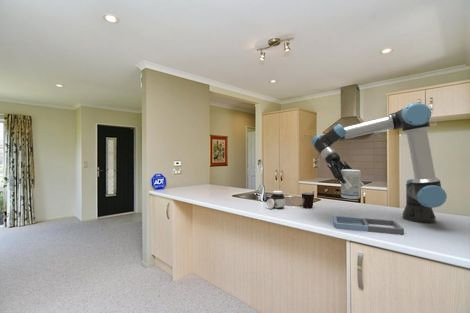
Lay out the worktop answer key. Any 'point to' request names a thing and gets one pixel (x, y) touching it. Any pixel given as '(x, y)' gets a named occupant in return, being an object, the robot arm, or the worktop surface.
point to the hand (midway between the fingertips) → (356, 187)
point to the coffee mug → (307, 200)
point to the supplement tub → (355, 182)
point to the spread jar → (276, 200)
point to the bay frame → (366, 227)
